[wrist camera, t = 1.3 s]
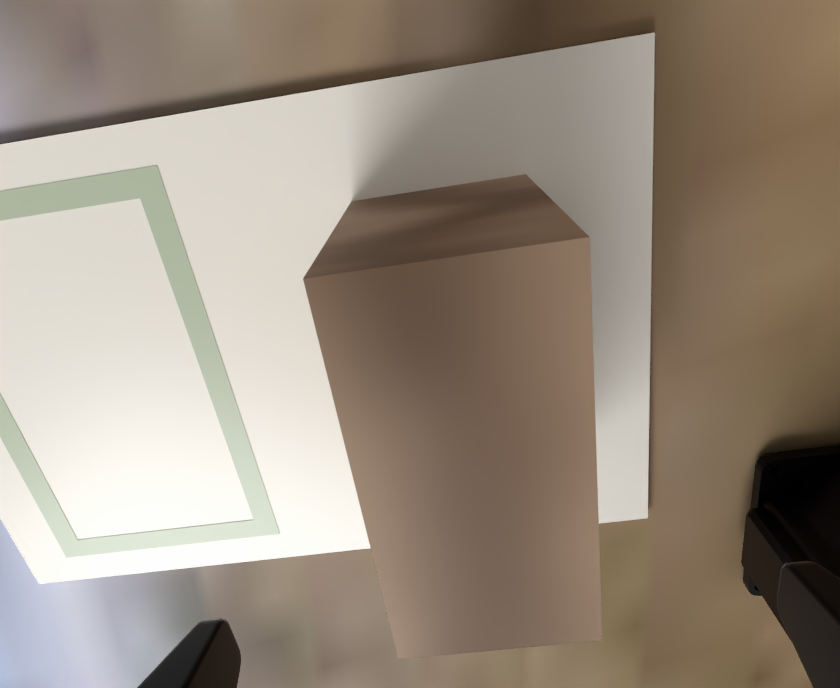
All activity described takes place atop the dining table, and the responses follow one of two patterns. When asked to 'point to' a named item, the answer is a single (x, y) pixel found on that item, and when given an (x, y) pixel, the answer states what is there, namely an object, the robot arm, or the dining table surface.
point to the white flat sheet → (277, 300)
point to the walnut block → (468, 411)
